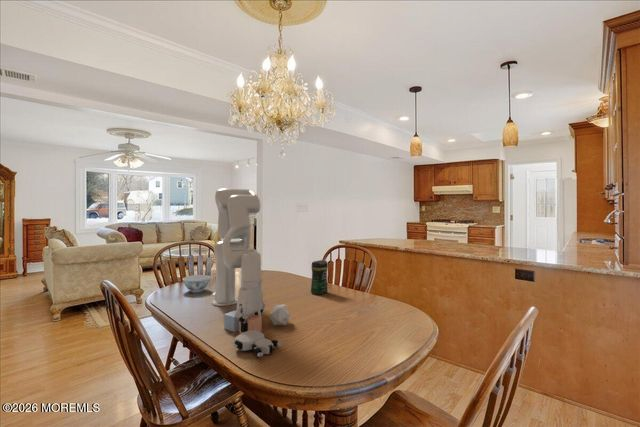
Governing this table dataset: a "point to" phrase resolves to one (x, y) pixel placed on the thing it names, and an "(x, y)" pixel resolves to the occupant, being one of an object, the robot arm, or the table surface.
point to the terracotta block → (253, 323)
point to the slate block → (231, 321)
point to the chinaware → (196, 282)
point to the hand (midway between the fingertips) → (250, 329)
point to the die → (280, 314)
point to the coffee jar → (319, 277)
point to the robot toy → (255, 342)
